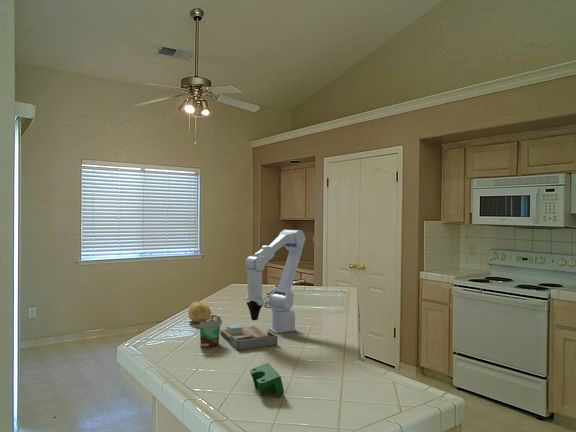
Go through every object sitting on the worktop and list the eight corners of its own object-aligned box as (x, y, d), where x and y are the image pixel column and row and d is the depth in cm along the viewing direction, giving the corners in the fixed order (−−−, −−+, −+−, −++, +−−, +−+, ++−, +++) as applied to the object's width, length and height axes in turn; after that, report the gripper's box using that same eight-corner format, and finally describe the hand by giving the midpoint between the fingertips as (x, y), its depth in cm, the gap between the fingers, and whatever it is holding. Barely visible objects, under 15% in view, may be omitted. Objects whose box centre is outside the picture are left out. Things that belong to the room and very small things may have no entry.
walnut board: (254, 330, 180) (254, 326, 180) (267, 339, 168) (267, 334, 168) (220, 334, 174) (220, 329, 174) (231, 344, 161) (231, 338, 161)
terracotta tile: (263, 338, 167) (263, 332, 167) (268, 342, 162) (268, 335, 162) (251, 340, 165) (251, 333, 165) (256, 343, 160) (256, 337, 160)
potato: (188, 326, 186) (188, 305, 186) (188, 318, 200) (188, 298, 200) (211, 325, 188) (211, 304, 188) (210, 318, 202) (210, 298, 202)
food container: (214, 350, 154) (215, 323, 154) (198, 349, 155) (199, 322, 155) (226, 340, 166) (226, 315, 166) (211, 339, 167) (211, 314, 167)
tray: (268, 339, 168) (268, 330, 168) (277, 345, 160) (277, 336, 160) (230, 344, 161) (230, 335, 161) (237, 350, 153) (237, 341, 153)
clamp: (257, 401, 122) (248, 370, 124) (276, 393, 124) (266, 362, 126) (265, 402, 111) (254, 367, 114) (286, 393, 113) (275, 359, 116)
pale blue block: (238, 330, 174) (238, 324, 174) (242, 333, 169) (242, 327, 169) (226, 331, 171) (226, 325, 171) (230, 334, 167) (230, 328, 167)
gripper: (239, 284, 175) (239, 316, 175) (252, 289, 161) (251, 325, 162) (255, 282, 178) (254, 315, 178) (268, 288, 165) (268, 323, 165)
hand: (254, 319), depth 170 cm, fingers closed
